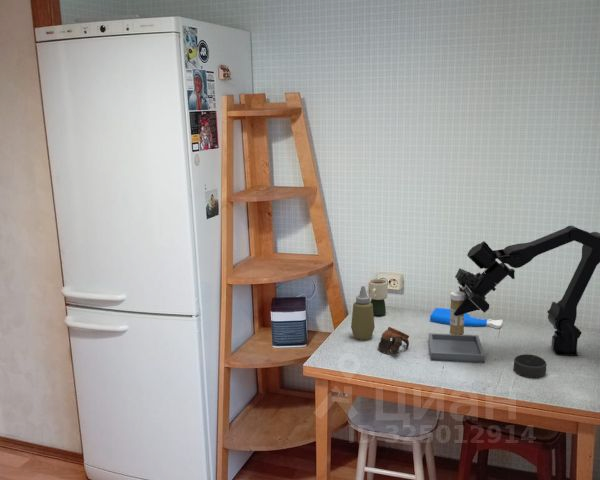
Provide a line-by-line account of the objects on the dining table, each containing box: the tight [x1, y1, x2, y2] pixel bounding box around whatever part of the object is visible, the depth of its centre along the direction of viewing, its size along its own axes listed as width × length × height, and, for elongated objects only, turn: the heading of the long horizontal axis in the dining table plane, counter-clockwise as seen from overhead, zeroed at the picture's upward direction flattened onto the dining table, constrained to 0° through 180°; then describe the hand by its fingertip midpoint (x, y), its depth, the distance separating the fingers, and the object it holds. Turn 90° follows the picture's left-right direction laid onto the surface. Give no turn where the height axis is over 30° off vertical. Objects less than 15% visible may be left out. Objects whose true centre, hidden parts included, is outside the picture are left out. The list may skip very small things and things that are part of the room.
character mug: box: [367, 278, 389, 316], centre depth 220 cm, size 11×7×13 cm, turn 153°
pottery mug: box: [377, 326, 410, 355], centre depth 188 cm, size 12×10×8 cm
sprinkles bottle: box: [449, 290, 466, 336], centre depth 184 cm, size 5×5×14 cm
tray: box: [428, 332, 486, 364], centre depth 187 cm, size 16×16×2 cm
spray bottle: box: [429, 307, 504, 330], centre depth 212 cm, size 3×11×24 cm
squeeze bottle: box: [350, 285, 376, 341], centre depth 198 cm, size 8×8×18 cm
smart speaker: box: [513, 353, 548, 379], centre depth 172 cm, size 9×9×4 cm
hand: (453, 312), depth 184 cm, fingers closed on sprinkles bottle, 4 cm apart
